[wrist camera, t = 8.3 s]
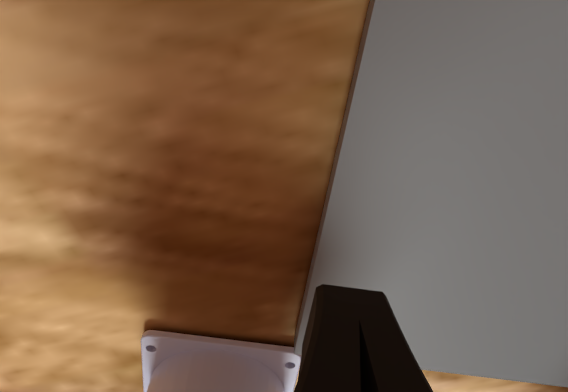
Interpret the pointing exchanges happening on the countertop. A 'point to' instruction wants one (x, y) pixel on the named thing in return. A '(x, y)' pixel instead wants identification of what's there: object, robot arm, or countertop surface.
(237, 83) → the countertop surface
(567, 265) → the gate board
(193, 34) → the countertop surface
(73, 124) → the countertop surface
